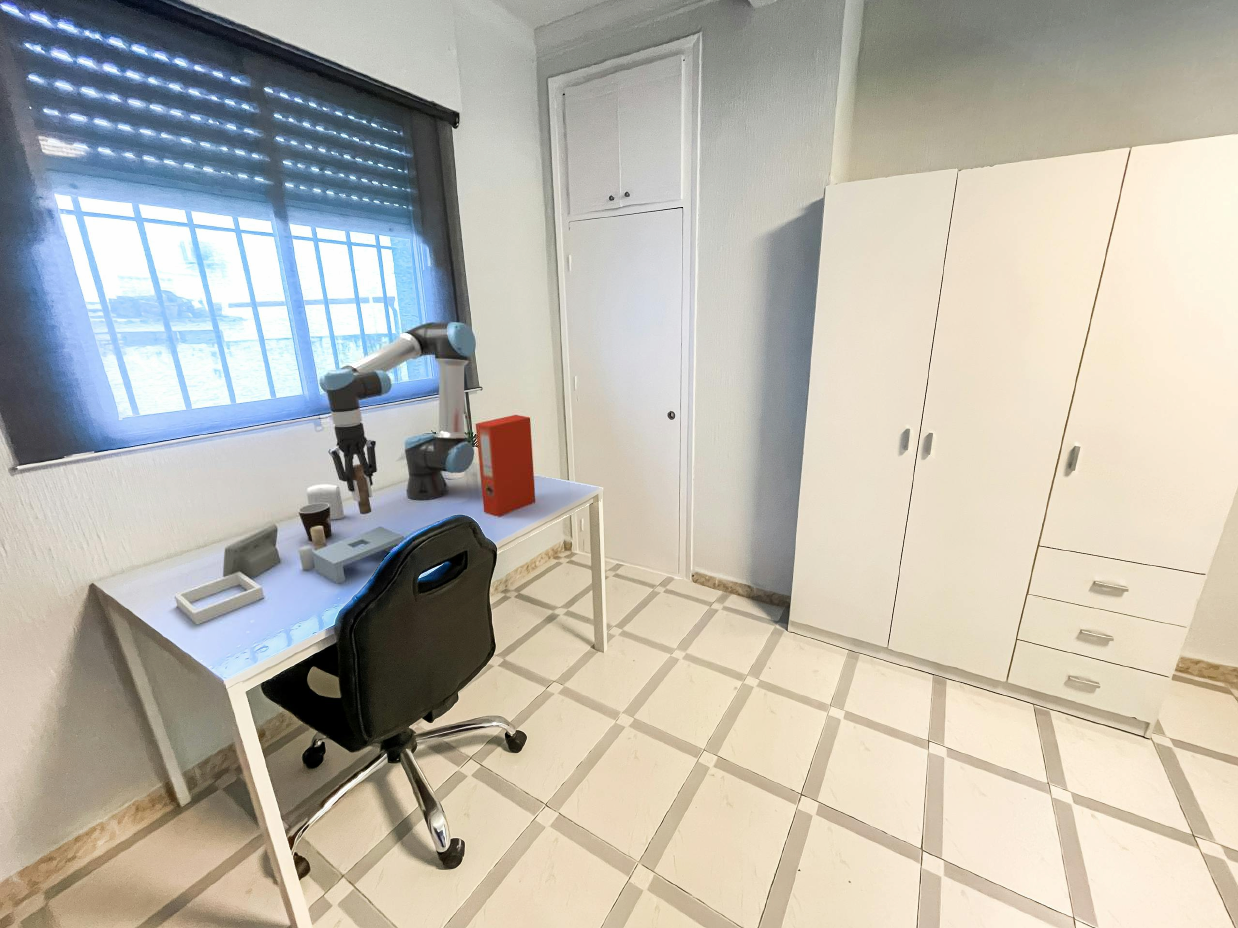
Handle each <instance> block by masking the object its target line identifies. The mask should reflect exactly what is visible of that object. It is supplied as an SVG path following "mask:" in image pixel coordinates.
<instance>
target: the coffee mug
mask: <svg viewBox="0 0 1238 928" xmlns="http://www.w3.org/2000/svg"><path fill="white" fill-rule="evenodd" d="M297 511H298V515H299V517H300V520H301V522H302V525H303V528H304V530H305V533H306V536H307V538H308V541H310V542H313V540H312V536H311V531H310V529H311V528H312V527H315V526H323V530H324V535H325V540H328V539H329V538H330V537H332V524H331V519H330V505H329V504H328V503H314V504H309V503H308V504H307V505H304V506H301V507H300V508H298V510H297Z"/></svg>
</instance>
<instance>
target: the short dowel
mask: <svg viewBox="0 0 1238 928" xmlns="http://www.w3.org/2000/svg"><path fill="white" fill-rule="evenodd" d="M297 551H298V555H299V559H300V563H301V567H302V570H303V571H310V570H313V569H315V564H314V559H313V555H312V552H313V547H312V546H311V545H304V546H301V547H299V548H298V550H297Z"/></svg>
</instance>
